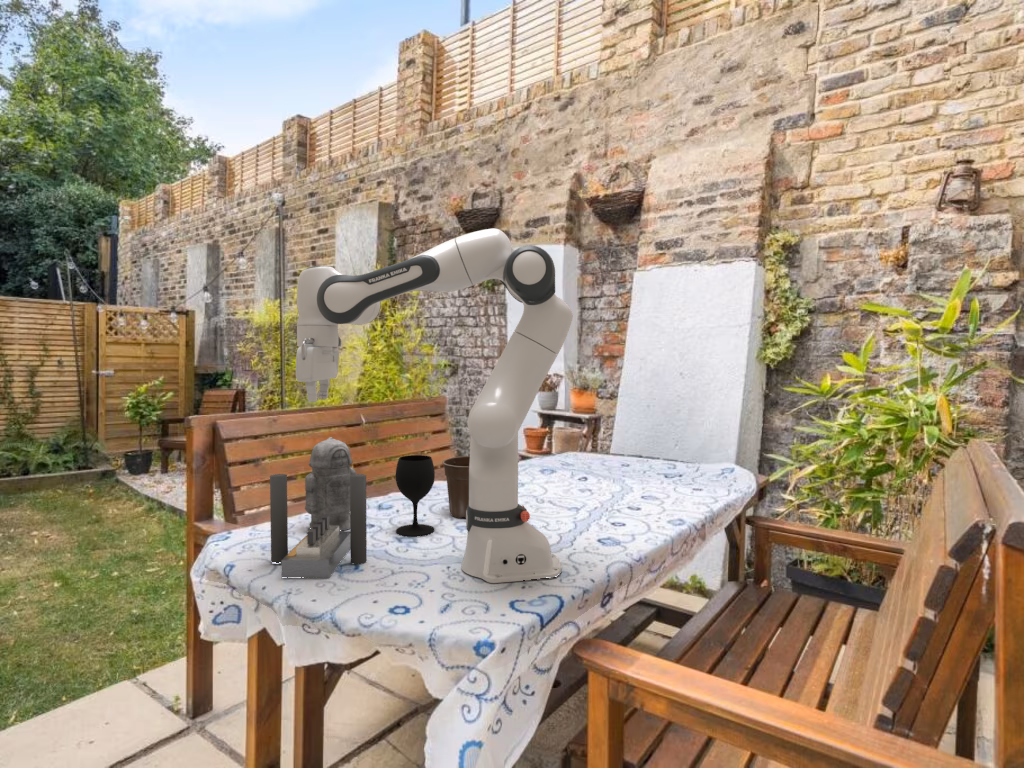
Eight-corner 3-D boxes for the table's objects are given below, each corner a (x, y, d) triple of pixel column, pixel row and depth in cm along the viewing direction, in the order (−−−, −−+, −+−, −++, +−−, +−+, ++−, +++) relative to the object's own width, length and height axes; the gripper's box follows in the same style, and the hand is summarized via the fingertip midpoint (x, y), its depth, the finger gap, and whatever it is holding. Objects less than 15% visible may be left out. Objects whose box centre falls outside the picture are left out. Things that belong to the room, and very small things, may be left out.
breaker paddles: (329, 526, 140) (329, 515, 140) (313, 544, 127) (312, 531, 127) (324, 526, 140) (324, 515, 140) (307, 544, 127) (307, 531, 127)
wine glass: (440, 527, 161) (440, 455, 160) (425, 538, 151) (425, 462, 150) (406, 524, 164) (406, 453, 163) (388, 535, 154) (388, 460, 153)
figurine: (299, 530, 157) (298, 438, 156) (345, 519, 168) (344, 433, 167) (318, 537, 151) (317, 442, 150) (364, 525, 162) (364, 436, 160)
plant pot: (462, 525, 164) (462, 468, 163) (432, 512, 176) (432, 459, 175) (507, 515, 174) (507, 461, 173) (475, 504, 186) (475, 454, 185)
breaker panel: (351, 547, 144) (351, 523, 144) (329, 578, 124) (328, 550, 124) (310, 547, 144) (310, 523, 143) (281, 578, 124) (281, 550, 123)
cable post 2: (368, 558, 136) (367, 474, 135) (364, 564, 132) (364, 477, 131) (352, 558, 136) (352, 474, 135) (348, 564, 132) (348, 477, 131)
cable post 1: (290, 559, 135) (289, 474, 134) (284, 564, 132) (283, 477, 131) (274, 559, 135) (273, 474, 134) (268, 564, 132) (267, 477, 131)
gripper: (318, 338, 121) (318, 404, 122) (343, 340, 141) (343, 397, 142) (287, 337, 121) (287, 404, 121) (317, 340, 141) (317, 396, 142)
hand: (318, 400), depth 132 cm, fingers open, 6 cm apart
